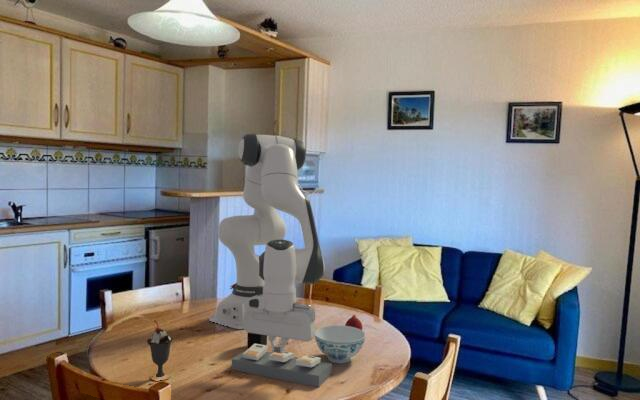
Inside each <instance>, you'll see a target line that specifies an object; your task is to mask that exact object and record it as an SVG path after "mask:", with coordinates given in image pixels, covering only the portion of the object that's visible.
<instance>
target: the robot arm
mask: <svg viewBox="0 0 640 400" xmlns="http://www.w3.org/2000/svg"><path fill="white" fill-rule="evenodd" d="M237 148H238V149H237V153H238V158H239V160H240V162H241V163H242V164H243V165H245V166H247V169H246V170H247V171H246V176H245V182H244V187H243V194H242V198H243V200H244V202H245V204H246V205H248V206H249V207H250V208H253V209H254V211H253V214H249V215H248V214H247V215H246V214H245V215H233V216H228V217H224V218H223V219H222V220H221V221H220V222H219V225H218V226H217V236H218V239H219V241H220V242H221V244H222V245H223V246H225V247H226V248H227V249H229V251H230V252H231V254H232V256H233V259H234V261H235V264H236V265H235V268H236V283H234V284H233V285H229V287H230V288H229V289H230V290H232V292H231V293H230V294H229V295H227V296H226V297H224V298H223V299H222V300H221V301H219V303H218V304H217V306H216V310H215V311H216V312H215V314H213V315H211V316H210V317H209V321H212V322H215V323H214V324H216V323H218V324H217V325H220V324H221V325H220V326H223V325H224V327H227V326H228V327H229V328H232V329H235V330H243V329H244V331H245V332H246V333H248V332H249V333H256V334H262V335H267V337H268V341H269V343H270V344H271V346H272V347H271V348H272V349H271V350H272V352H271V353H275V352H276V353H281V354H283V353H284V352H286V345H287V344H288V342H289V340H295V341H301V342H308V343H309V342H310V341H312V340H313V339H314V338H315V334H316V332H315V331H316V324H315V323H316V322H315V320H316V310H315V309H314V308H313V307H311V305H309V304H302V303H297V302H296V301H297V288H296V284H298V283H300V284H309V285H314V284H316V283H317V282H319V281H320V280H321V279H322V278H323V277H324V276H325V275H324V273H325V268H326V267H325V260H324V256H323V253H322V250H321V246H320V241H319V237H318V232H317V227H316V221H315V216H314V212H313V208H312V204H311V201H310V198H309V197H308V196H307V195H305V194H303V192H302V190H301V189H300V185H299V178H298V170H300V169H302V168H303V167H304V165H305V162H306V159H307V147H306V144H304V142H303V141H301V140H299V139H297V138H290V137H286V136H282V135H276V134H274V135H271V134H257V133H246V134H244V136H242V137H241V140H240V142H239V144H238V147H237ZM277 211H280V212H283V213H285V214H288V215H290V216H292V217H293V218H296V219H297V221H298V222H299V223H300V228H301V233H302V237H303V242H304V247H303V248H295V244H294V243H293V242H292V241H290V240H288V239H284V238H285V236H286V234H287V225H286V222H285V220H284V219H283V217H281V216H280V215H279V214H278V212H277ZM255 246H265V248H264V251H262V253H261V254H260V255H258V254H256V252H255ZM212 322H211V323H212ZM277 338H280V342H282V343H281V344H278V342H277Z"/></svg>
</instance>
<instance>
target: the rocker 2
mask: <svg viewBox="0 0 640 400" xmlns="http://www.w3.org/2000/svg"><path fill="white" fill-rule="evenodd" d="M272 353H273V354H270V355H269V360H274V361H280V362H285V361H287V362H288V361H289V359H292V358H294V357H295V353H294V352H289V351H285V352H284V353H283V354H281V353H276V352H272Z"/></svg>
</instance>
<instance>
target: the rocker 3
mask: <svg viewBox="0 0 640 400" xmlns="http://www.w3.org/2000/svg"><path fill="white" fill-rule="evenodd" d="M298 358H299V359H297V360H296V365H301V366H306V367H313V366H314V367H315V366H316V364H318V363H320V362H322V361H321V359H322V358H321V357H318V356H313V355H308V354H306V355H304V356H301V357H298Z"/></svg>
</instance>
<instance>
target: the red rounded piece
mask: <svg viewBox="0 0 640 400" xmlns="http://www.w3.org/2000/svg"><path fill="white" fill-rule="evenodd" d="M344 326H350V327H355V328H358V329H360V330H362V331H363V323H362V321H361V319H359V318H358V317H357V315H356V314H352V315H351V317H350V318H348V319H347V321H346V323H345V325H344Z"/></svg>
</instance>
